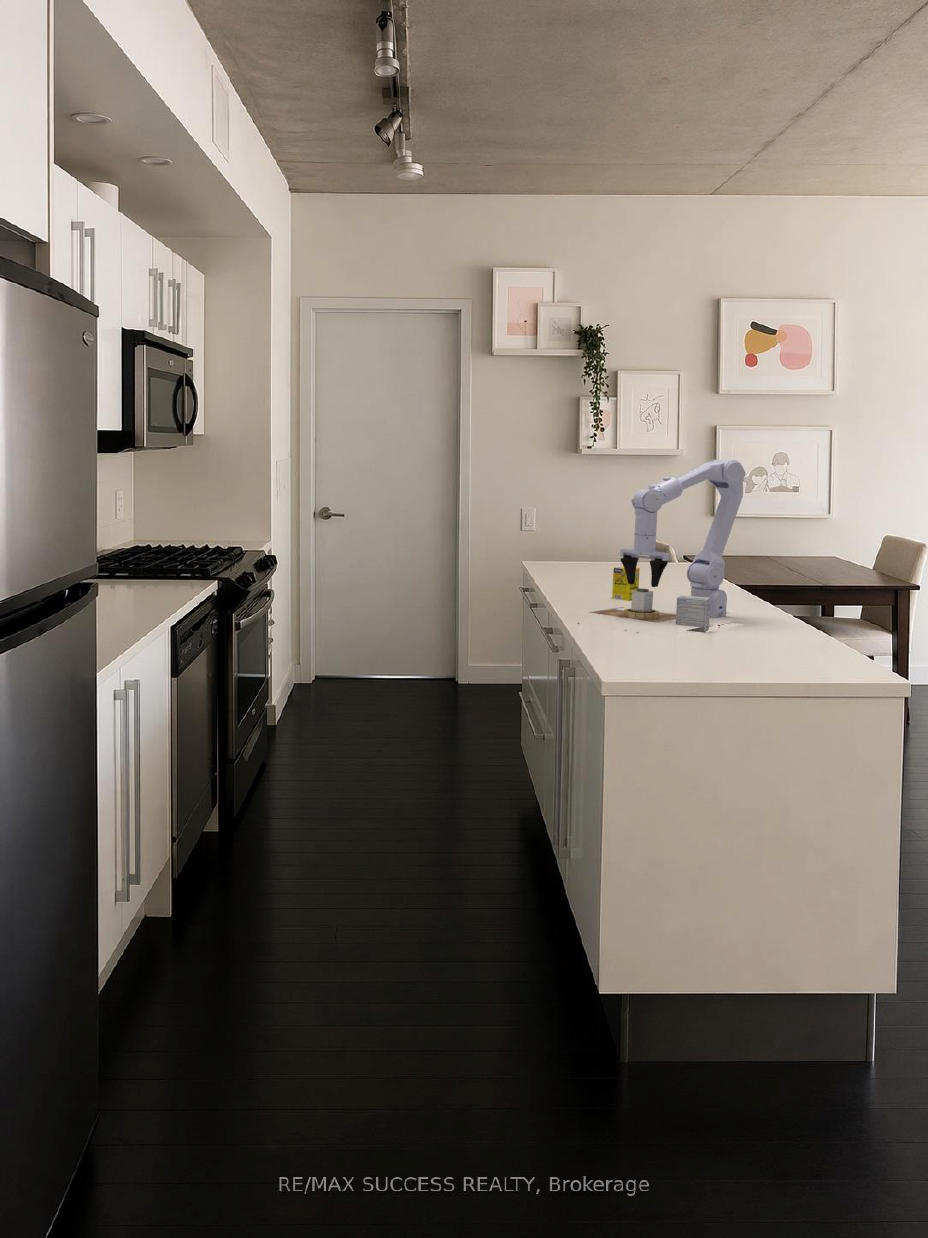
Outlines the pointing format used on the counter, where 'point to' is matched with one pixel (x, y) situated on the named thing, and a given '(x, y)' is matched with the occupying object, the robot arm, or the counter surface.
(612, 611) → the walnut board
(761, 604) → the counter surface
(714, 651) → the counter surface
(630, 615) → the brass eye
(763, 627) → the counter surface
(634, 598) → the steel post
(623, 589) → the supplement box
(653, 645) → the counter surface
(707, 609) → the medicine box
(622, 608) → the grey pad
